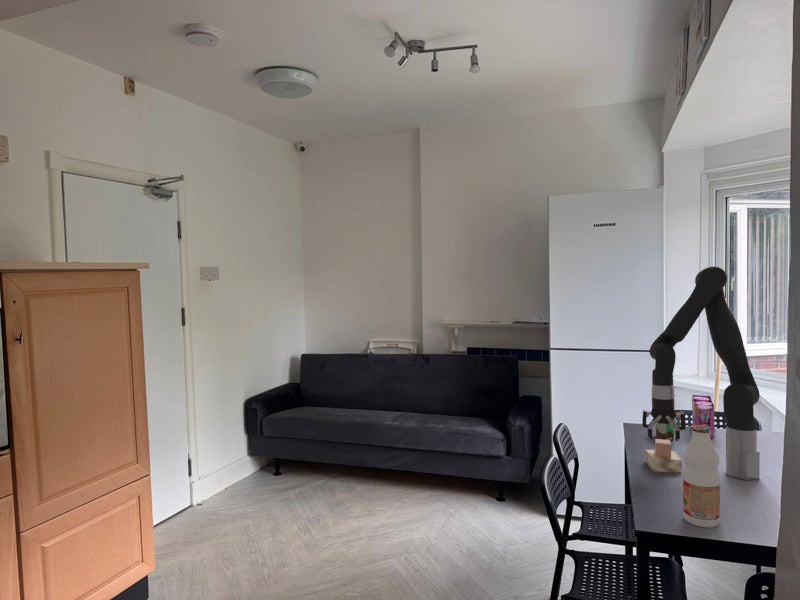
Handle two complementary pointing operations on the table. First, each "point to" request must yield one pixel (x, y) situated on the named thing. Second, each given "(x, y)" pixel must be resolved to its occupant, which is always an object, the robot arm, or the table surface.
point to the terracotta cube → (663, 448)
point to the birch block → (663, 462)
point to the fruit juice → (701, 480)
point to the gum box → (703, 412)
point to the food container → (665, 431)
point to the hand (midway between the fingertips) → (663, 439)
